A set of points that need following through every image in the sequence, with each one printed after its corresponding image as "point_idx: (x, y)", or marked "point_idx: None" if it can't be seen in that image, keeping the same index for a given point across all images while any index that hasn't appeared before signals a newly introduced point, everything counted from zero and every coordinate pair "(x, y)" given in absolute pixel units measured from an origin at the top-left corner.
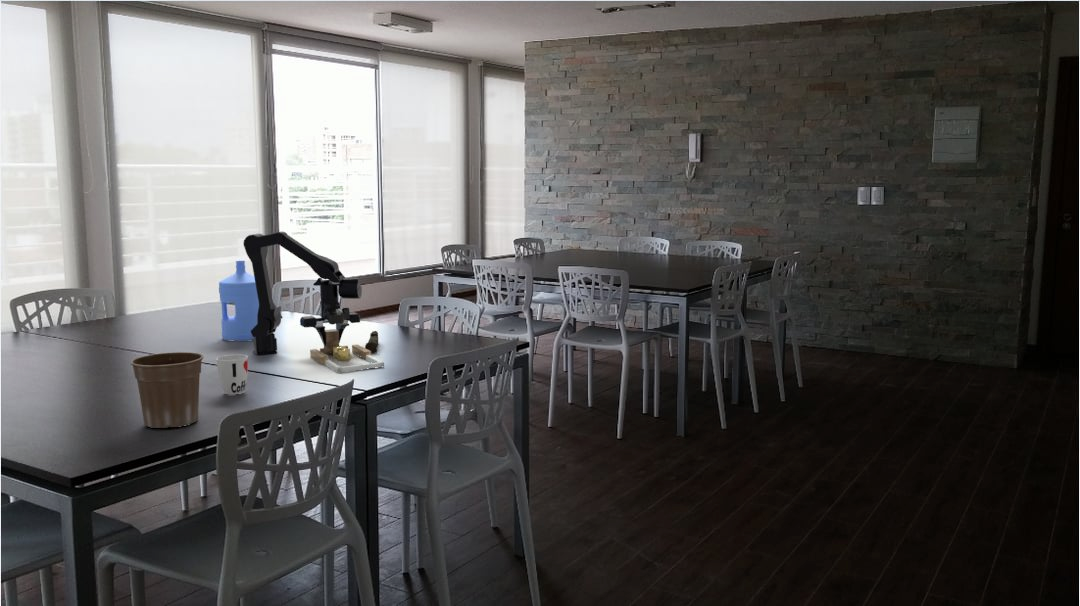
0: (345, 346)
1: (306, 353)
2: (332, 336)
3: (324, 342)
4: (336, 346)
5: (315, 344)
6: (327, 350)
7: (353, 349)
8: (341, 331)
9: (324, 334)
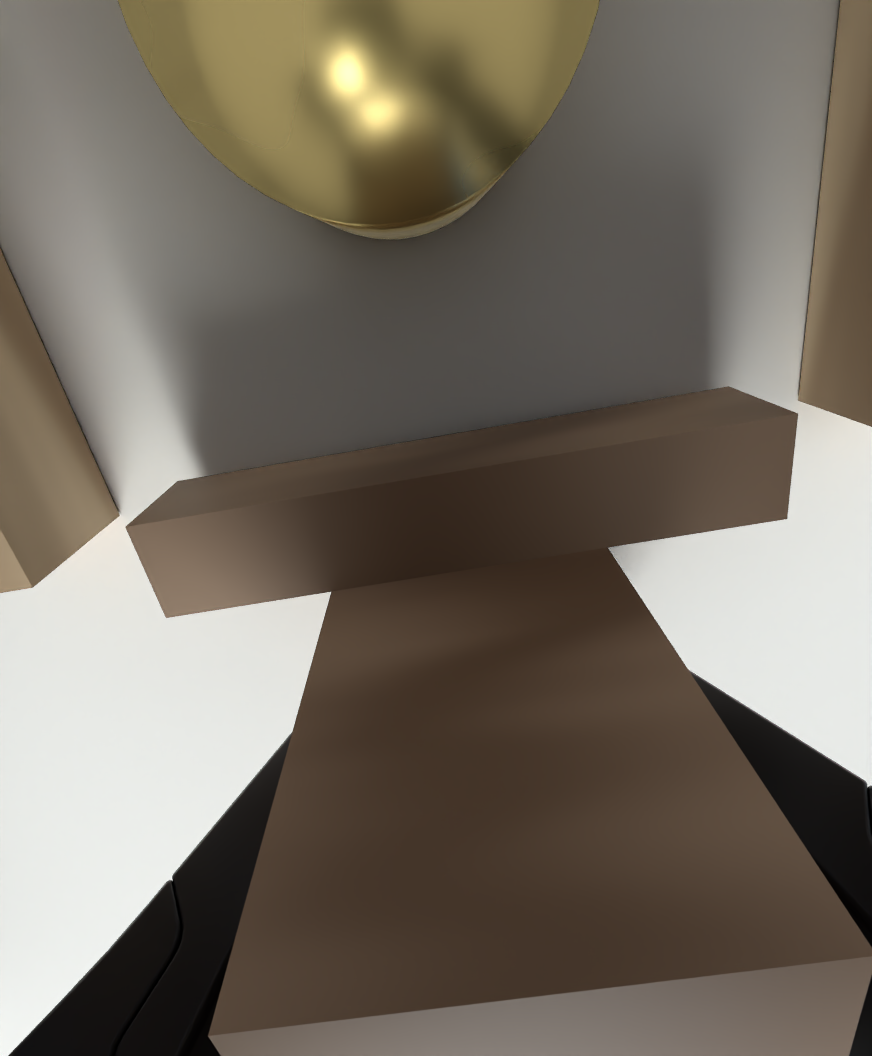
0: (186, 522)
1: (831, 691)
2: (513, 766)
3: None
4: (445, 141)
5: None
6: (621, 426)
7: (38, 458)
8: (105, 1027)
9: (853, 874)
